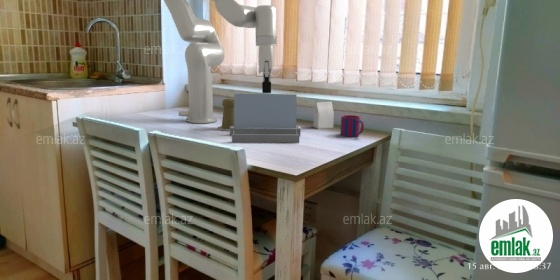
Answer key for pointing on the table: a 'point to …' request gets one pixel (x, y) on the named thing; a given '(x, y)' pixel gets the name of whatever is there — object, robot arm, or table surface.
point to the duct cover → (264, 111)
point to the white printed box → (323, 115)
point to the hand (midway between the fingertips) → (266, 92)
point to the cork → (228, 113)
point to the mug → (351, 126)
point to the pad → (222, 129)
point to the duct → (265, 135)
